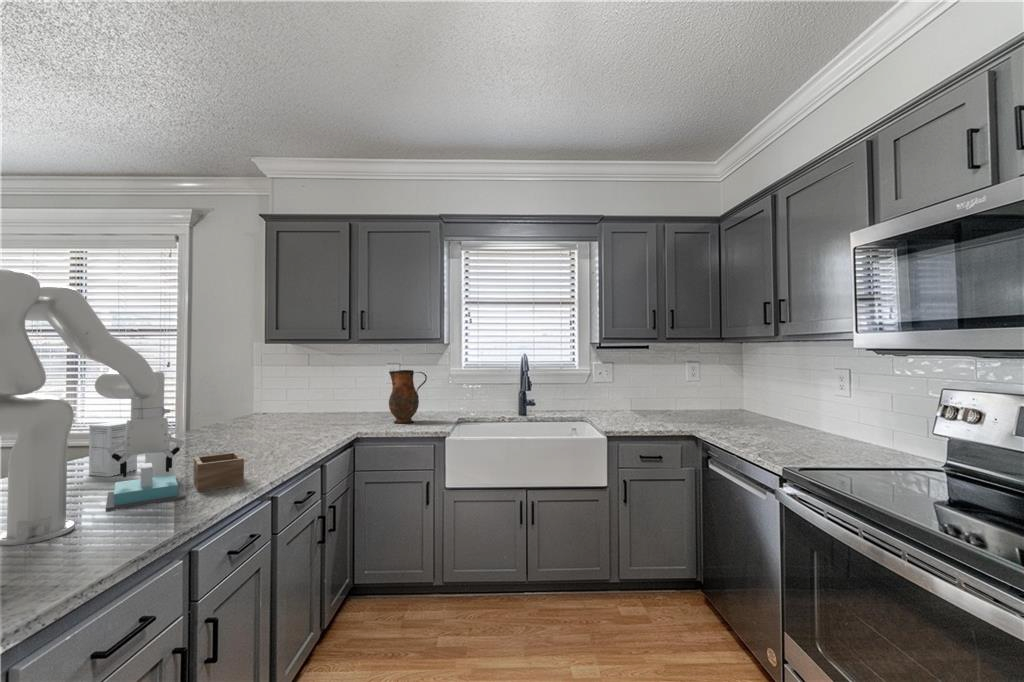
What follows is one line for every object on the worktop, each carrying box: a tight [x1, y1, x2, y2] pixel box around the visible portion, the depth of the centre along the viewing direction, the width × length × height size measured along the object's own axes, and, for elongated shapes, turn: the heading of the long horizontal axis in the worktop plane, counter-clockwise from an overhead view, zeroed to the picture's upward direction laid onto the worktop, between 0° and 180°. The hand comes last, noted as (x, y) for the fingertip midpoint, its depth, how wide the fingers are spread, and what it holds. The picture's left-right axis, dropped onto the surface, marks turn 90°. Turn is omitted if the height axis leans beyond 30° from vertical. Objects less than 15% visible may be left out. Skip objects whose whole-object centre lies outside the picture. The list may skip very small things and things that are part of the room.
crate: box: [192, 451, 245, 492], centre depth 149 cm, size 12×12×8 cm
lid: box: [113, 462, 178, 505], centre depth 135 cm, size 14×14×8 cm
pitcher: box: [388, 369, 428, 425], centre depth 271 cm, size 17×21×30 cm
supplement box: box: [88, 420, 138, 478], centre depth 160 cm, size 10×9×17 cm
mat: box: [105, 482, 186, 512], centre depth 135 cm, size 17×17×1 cm
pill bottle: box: [144, 431, 177, 477], centre depth 152 cm, size 8×8×15 cm
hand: (146, 473), depth 135 cm, fingers open, 9 cm apart
